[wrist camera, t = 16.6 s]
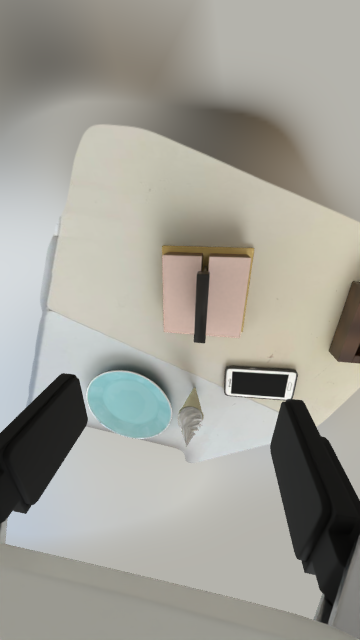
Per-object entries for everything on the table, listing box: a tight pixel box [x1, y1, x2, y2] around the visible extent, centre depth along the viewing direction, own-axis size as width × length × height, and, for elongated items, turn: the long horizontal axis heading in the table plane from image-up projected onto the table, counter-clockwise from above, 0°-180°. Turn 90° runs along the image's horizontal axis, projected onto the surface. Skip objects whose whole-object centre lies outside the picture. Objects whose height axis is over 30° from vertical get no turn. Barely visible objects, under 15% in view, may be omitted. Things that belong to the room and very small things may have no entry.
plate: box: [86, 370, 172, 439], centre depth 55 cm, size 22×22×3 cm
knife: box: [194, 266, 210, 343], centre depth 37 cm, size 11×2×10 cm, turn 179°
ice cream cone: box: [178, 388, 203, 446], centre depth 45 cm, size 5×5×15 cm
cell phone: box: [224, 366, 298, 400], centre depth 48 cm, size 8×15×1 cm, turn 92°
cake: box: [162, 246, 254, 338], centre depth 39 cm, size 16×16×5 cm
